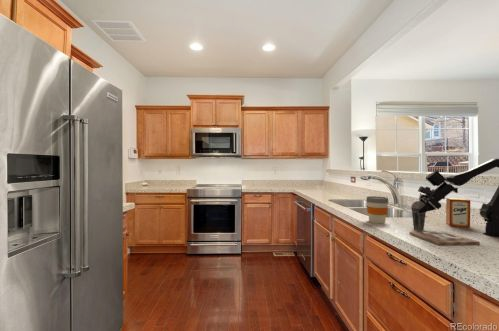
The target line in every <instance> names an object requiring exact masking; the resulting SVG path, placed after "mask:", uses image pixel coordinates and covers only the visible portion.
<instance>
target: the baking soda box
mask: <svg viewBox="0 0 499 331" xmlns="http://www.w3.org/2000/svg"><path fill="white" fill-rule="evenodd" d="M445 199H446V200H445V201H446V203H445V205H446V206H445V212H446V213H445V223H446V224H447V225H448V226H449V227H456V228H457V227H458V228H468V227H470V228H471V200H470V199H468V198H459V197H458V198H457V197H445Z"/></svg>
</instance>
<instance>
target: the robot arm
mask: <svg viewBox="0 0 499 331" xmlns="http://www.w3.org/2000/svg"><path fill="white" fill-rule="evenodd" d="M495 168H499V158H491V159H489V160H487V161H485V162H483V163H481V164H479V165H477V166H474V167H472V168H470V169H468V170H465V171H461V172H458V173H453V174H451V175H449V176H444V175H443V174H441V173H440V172H439V171H438V170H434V171H433V172H431V173H429V174H427V176H426V177H425V179H426V180H427V181H428V182H429V183H430V184H431V185H432V186H433V187H435V186H436V188H435V189H434V188H433V189H431V187H429V186H425V187H424V186H422V185H420V186H419V188H418V190H417V192H419V193H421V199H420V201H421V202H423V203H424V204H425V205H424V206H423V207H422V208H421V209H420V210H419V213H424V212H426V213H427V212H430V211H431V212H432V211H435V210H439V209H441V208H442V204H441V203H440V201H442V200H444V199H446V198H447V196H448V195H450V194H451V193H455V194H458V193H459V191H458V189H459V187H461V186H463V185H465V184H467V183H468V182H469V181H471V179H473V178H475V177H476V176H480V175H482V174H483V173H486V172H488V171H491V170H492V169H495ZM454 186H457V187H454ZM419 198H420V195H419V196H418V199H419ZM478 210H479V215H480V217H482V218H483V220H484V221H485V228H484V229H485V230H484V231H485V232H482V234H483V235H486V236H491V237H495V238H499V185H498V187H497V189H496V190H495V191H494V194H493V196H492V197H491V200H490V201H488V203H485V202H483V203H482V204H481V206H480V208H479V209H478Z"/></svg>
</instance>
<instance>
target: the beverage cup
mask: <svg viewBox="0 0 499 331" xmlns="http://www.w3.org/2000/svg"><path fill="white" fill-rule="evenodd" d="M421 194H422V193H421V192H419V196H420V198H419V197H418V200H417V201H414V202H412V204H411V207H410V208H411V213H412V215H411V216H412V225H413V230H415V231H424V228H425V222H426V213H427V212H424V213H419V210H420V209H421V208H422V207H423V206H424V205H425V204H424V203H423V202H421V201H420V199H421Z"/></svg>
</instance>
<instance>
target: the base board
mask: <svg viewBox="0 0 499 331" xmlns="http://www.w3.org/2000/svg"><path fill="white" fill-rule="evenodd" d="M410 234H411V236H413V237H415V238H419V239H421V240H424V241H425V242H428V241H429V242H428V243H431V244H433V243H434V245H436V244H437V246H459V245H460V246H467V245H469V246H470V245H480V241H479V240H475V239H473V238H469V237H465V236H463V235H460V234H456V233H452V232H449V231H448V230H447V231H446V230H443V231H442V230H441V231H440V230H438V231H434V230H433V231H409V235H410Z"/></svg>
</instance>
